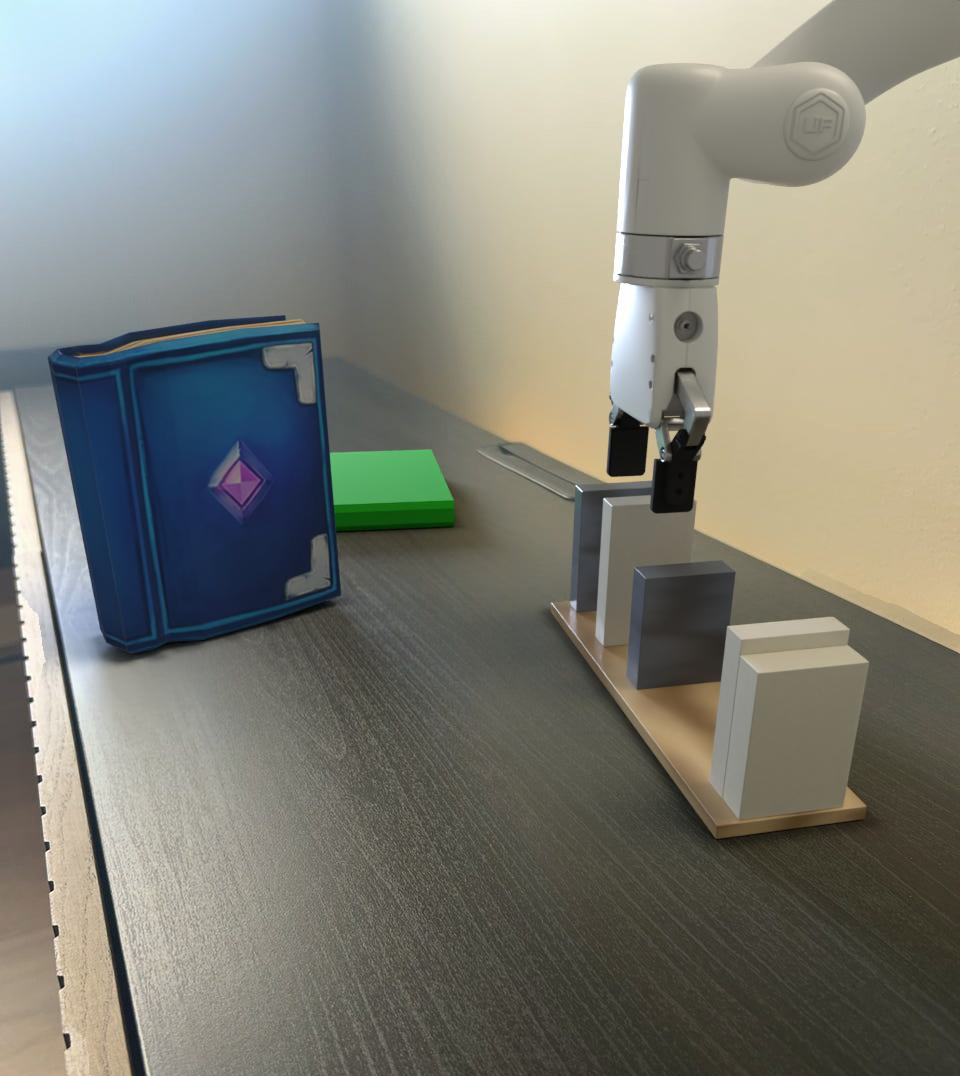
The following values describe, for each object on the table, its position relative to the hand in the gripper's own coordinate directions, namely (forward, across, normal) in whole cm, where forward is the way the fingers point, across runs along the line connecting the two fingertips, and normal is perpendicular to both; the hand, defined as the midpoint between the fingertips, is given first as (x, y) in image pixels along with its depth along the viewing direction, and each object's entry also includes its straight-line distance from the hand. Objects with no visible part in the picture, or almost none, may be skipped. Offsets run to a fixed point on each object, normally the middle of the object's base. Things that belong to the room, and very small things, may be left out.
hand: (647, 492), depth 83 cm
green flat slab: (+14, +46, +22) cm, 53 cm away
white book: (+12, 0, 0) cm, 13 cm away
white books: (+12, -24, 0) cm, 27 cm away
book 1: (+14, +13, +34) cm, 39 cm away
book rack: (+13, -9, 0) cm, 16 cm away
